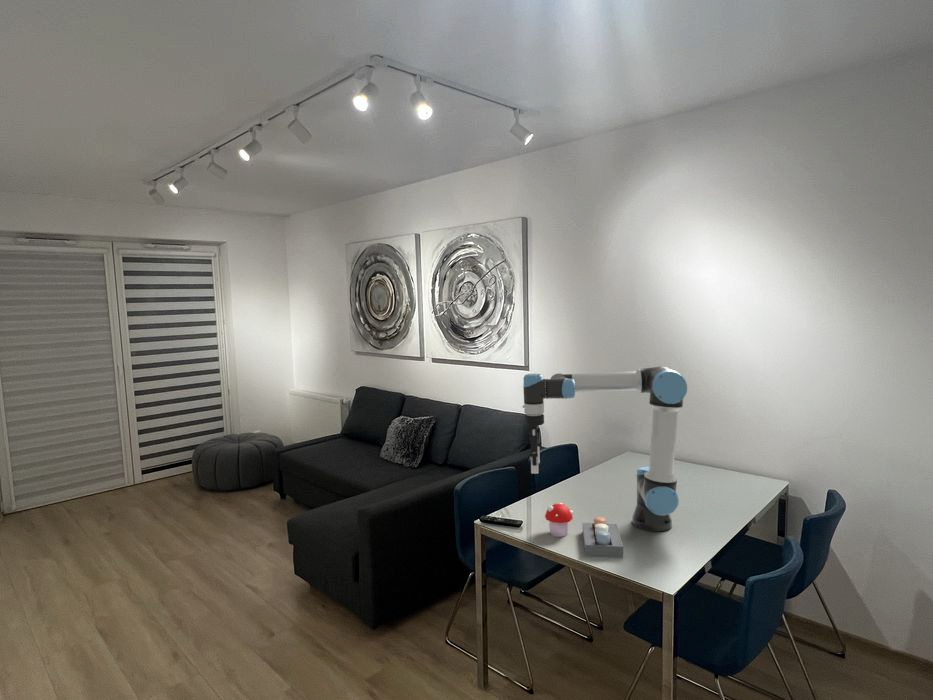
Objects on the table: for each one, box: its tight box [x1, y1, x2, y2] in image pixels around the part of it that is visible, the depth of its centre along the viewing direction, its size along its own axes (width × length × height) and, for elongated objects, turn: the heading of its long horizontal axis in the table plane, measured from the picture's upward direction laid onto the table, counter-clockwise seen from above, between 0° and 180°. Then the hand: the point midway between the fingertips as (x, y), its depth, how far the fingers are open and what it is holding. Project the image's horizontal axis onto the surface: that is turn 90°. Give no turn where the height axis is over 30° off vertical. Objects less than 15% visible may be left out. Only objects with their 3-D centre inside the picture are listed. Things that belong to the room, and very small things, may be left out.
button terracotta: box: [593, 516, 608, 530], centre depth 206 cm, size 5×5×4 cm
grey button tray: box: [582, 522, 624, 559], centre depth 199 cm, size 13×20×4 cm, turn 171°
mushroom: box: [544, 502, 574, 538], centre depth 209 cm, size 11×11×12 cm
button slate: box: [596, 531, 610, 545], centre depth 193 cm, size 5×5×4 cm
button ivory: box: [595, 524, 608, 537], centre depth 199 cm, size 5×5×4 cm
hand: (535, 467), depth 208 cm, fingers open, 13 cm apart
